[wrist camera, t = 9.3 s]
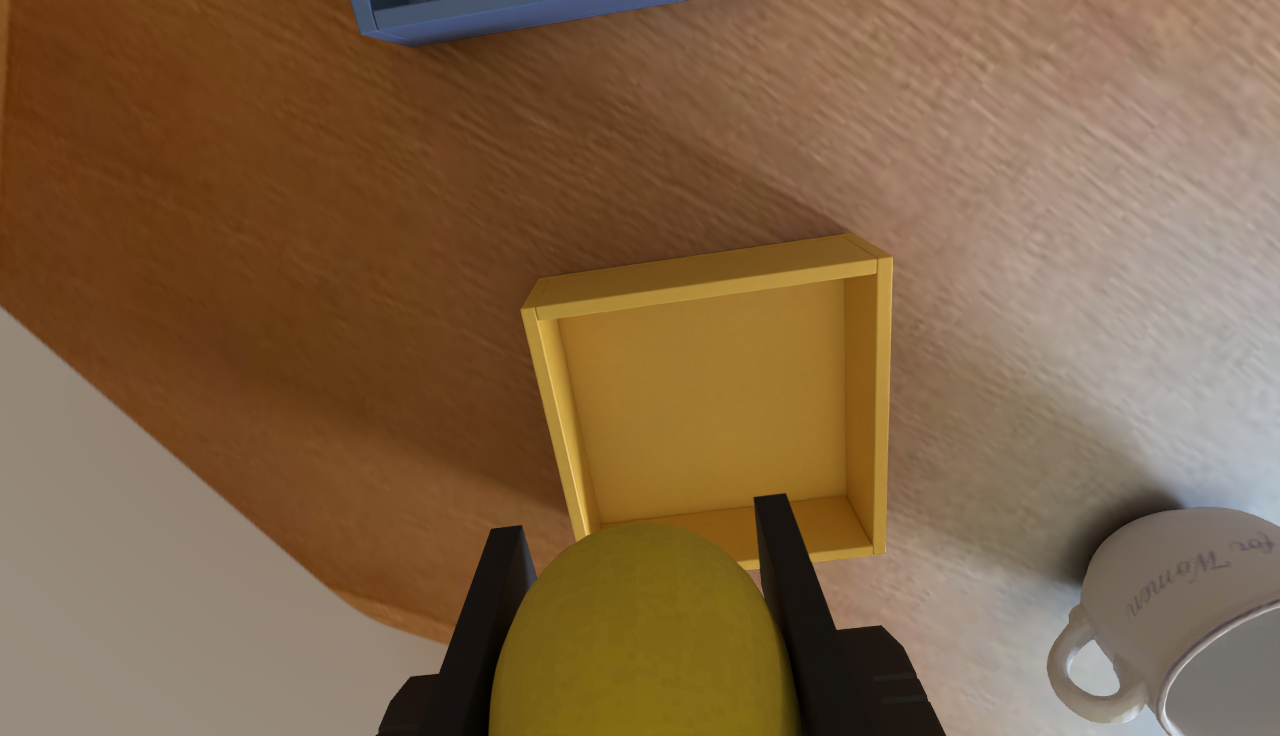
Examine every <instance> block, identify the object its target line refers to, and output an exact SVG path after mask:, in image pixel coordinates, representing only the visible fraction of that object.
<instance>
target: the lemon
mask: <svg viewBox="0 0 1280 736" xmlns="http://www.w3.org/2000/svg"><path fill="white" fill-rule="evenodd" d="M488 736H802V728H801V717H800V710H799V702H798V697H797V692H796V687H795V682H794V677H793V672H792V668H791V663H790V658H789V654H788V651H787V648H786V644H785V641H784V638H783V636H782V633H781V631H780V628H779V626H778V623H777V621H776V619H775V617H774V615H773V614H772V612H771V610H770V608H769V606H768V605H767V603H766V601H765V599H764V598H763V596H762V594H761V593H760V591H759V589H758V588H757V586H756V584H755V583H754V581H753V580H752V578H751V577H750V575H749V574H748V573H747V572H746V571H745V570H744V569H743V568H742V567H741V566H740V565H739V564H738V563H737V562H736V561H735V560H734V559H733V558H732V557H730V556H729V555H728V554H727V553H726V552H725V551H724V550H723V549H722V548H720V547H719V546H717V545H716V544H715V543H713V542H711V541H709V540H707V539H705V538H704V537H702V536H700V535H698V534H696V533H694V532H692V531H689V530H686V529H683V528H679V527H676V526H672V525H668V524H665V523H654V522H633V523H626V524H619V525H614V526H611V527H608V528H606V529H603V530H600V531H597V532H595V533H592V534H589V535H587V536H585V537H584V538H582V539H581V540H579V541H578V542H576V543H575V544H573V545H572V546H570V547H569V548H567V549H566V550H564V551H563V552H561V553H560V554H559V555H558V556H557V557H556V558H555V559H554V560H553V561H552V562H551V563H550V564H549V566H548V567H547V568H546V569H545V570H544V571H543V573H542V574H541V575H540V576H539V577H538V578H537V579H536V581H535V582H534V583H533V584H532V586H531V587H530V589H529V590H528V592H527V593H526V595H525V597H524V599H523V601H522V603H521V605H520V607H519V609H518V611H517V613H516V615H515V618H514V620H513V622H512V625H511V627H510V629H509V631H508V634H507V636H506V639H505V641H504V644H503V647H502V649H501V652H500V656H499V659H498V663H497V666H496V671H495V676H494V681H493V686H492V694H491V702H490V716H489V734H488Z"/></svg>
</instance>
